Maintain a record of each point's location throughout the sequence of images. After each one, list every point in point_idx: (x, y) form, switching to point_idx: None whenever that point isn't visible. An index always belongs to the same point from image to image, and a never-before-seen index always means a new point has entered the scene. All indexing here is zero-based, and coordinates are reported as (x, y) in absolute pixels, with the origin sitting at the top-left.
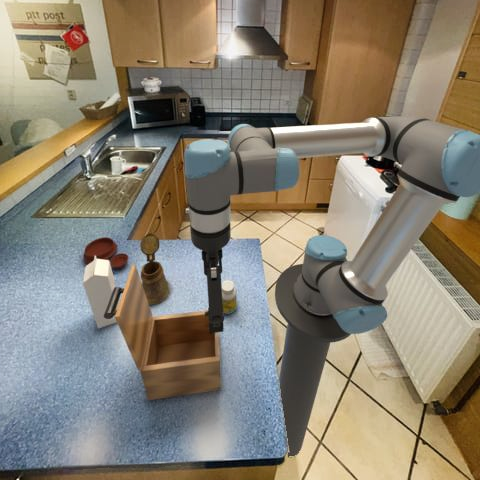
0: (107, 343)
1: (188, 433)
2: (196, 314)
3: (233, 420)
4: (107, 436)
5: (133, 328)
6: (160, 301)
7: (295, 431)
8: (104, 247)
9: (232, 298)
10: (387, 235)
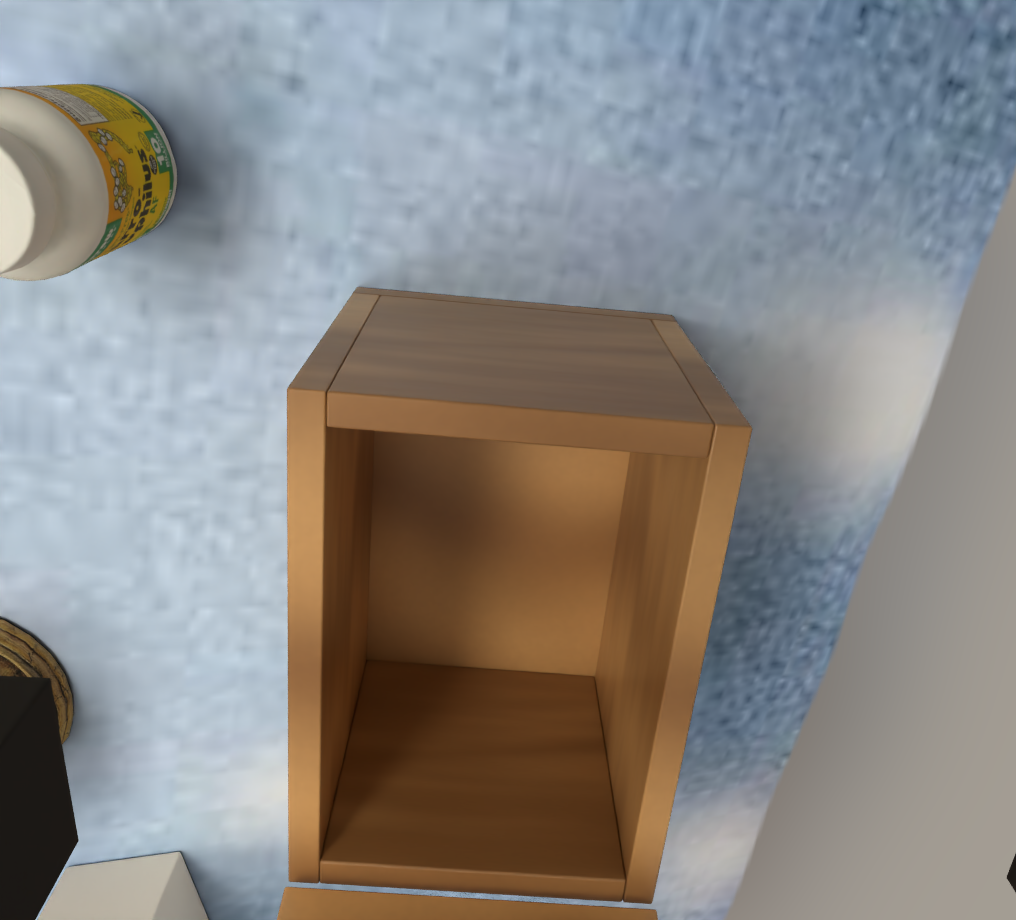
0: (300, 882)
1: (802, 500)
2: (315, 578)
3: (836, 263)
4: (694, 810)
5: None
6: (53, 665)
7: None
8: None
9: (92, 152)
10: None
